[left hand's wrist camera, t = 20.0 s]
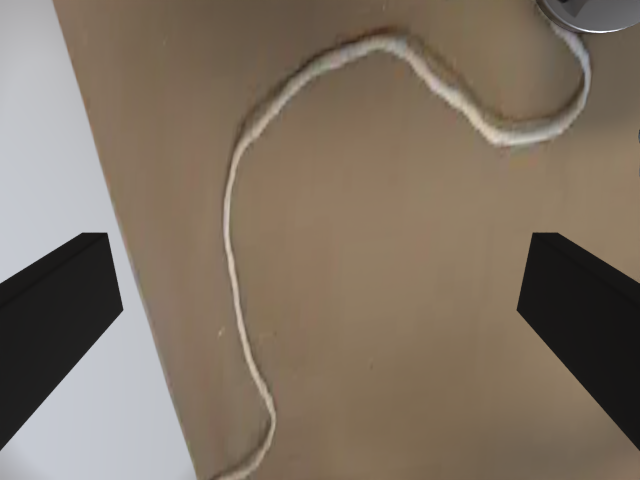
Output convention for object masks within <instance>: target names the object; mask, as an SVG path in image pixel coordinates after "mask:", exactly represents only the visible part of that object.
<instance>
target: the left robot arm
mask: <svg viewBox="0 0 640 480" xmlns="http://www.w3.org/2000/svg"><path fill="white" fill-rule="evenodd" d="M536 1H537V3H538V5H539V6H540V8H541V9H542V11H543V12H544V13H545V14H546V15H547V16H548V17H549V18H550V19H551V20H552V21H553V22H555V23H556V24H557V25H559V26H561V27H562V28H565V29H567V30H569V31H573V32H576V33H582V34H601V33H607V32H612V31H617V30H621V29H625V28H627V27H630V26H633V25H635V24H637V23H639V22H640V0H536ZM639 142H640V130H639ZM639 175H640V170H639ZM122 311H123V306H122V301H121V296H120V291H119V287H118V282H117V277H116V272H115V268H114V263H113V258H112V253H111V248H110V243H109V239H108V234H107V233H81V234H80V235H78V236H76V237H75V238H73V239H71V240H70V241H68V242H67V243H65V244H63V245H62V246H60V247H58V248H57V249H55V250H54V251H52V252H50V253H49V254H47V255H46V256H44V257H42V258H41V259H39V260H38V261H36V262H34V263H33V264H31V265H29V266H28V267H26V268H25V269H23V270H21V271H20V272H18V273H16V274H15V275H13V276H12V277H10V278H8V279H7V280H5V281H4V282H2V283H0V451H1V449H2V448H3V447H4V446H5V445H6V444H7V443H8V441H9V440H10V439H11V438H12V437H13V436H14V435H15V433H16V432H17V431H18V430H19V429H20V428H21V427H22V425H23V424H24V423H25V422H26V421H27V420H28V419H29V417H30V416H31V415H32V414H33V413H34V412H35V411H36V409H37V408H38V407H39V406H40V405H41V404H42V403H43V401H44V400H45V399H46V398H47V397H48V396H49V395H50V393H51V392H52V391H53V390H54V389H55V388H56V387H57V385H58V384H59V383H60V382H61V381H62V380H63V379H64V377H65V376H66V375H67V374H68V373H69V372H70V371H71V369H72V368H73V367H74V366H75V365H76V364H77V363H78V361H79V360H80V359H81V358H82V357H83V356H84V355H85V353H86V352H87V351H88V350H89V349H90V348H91V347H92V345H93V344H94V343H95V342H96V341H97V340H98V339H99V337H100V336H101V335H102V334H103V333H104V332H105V331H106V329H107V328H108V327H109V326H110V325H111V324H112V323H113V321H114V320H115V319H116V318H117V317H118V316H119V315H120V313H121V312H122ZM517 311H518V312H519V313H520V315H521V316H522V317H523V318H524V319H525V320H526V321H527V323H528V324H529V325H530V326H531V327H532V328H533V329H534V331H535V332H536V333H537V334H538V335H539V336H540V337H541V339H542V340H543V341H544V342H545V343H546V344H547V345H548V347H549V348H550V349H551V350H552V351H553V352H554V353H555V355H556V356H557V357H558V358H559V359H560V360H561V361H562V363H563V364H564V365H565V366H566V367H567V368H568V369H569V371H570V372H571V373H572V374H573V375H574V376H575V377H576V379H577V380H578V381H579V382H580V383H581V384H582V385H583V387H584V388H585V389H586V390H587V391H588V392H589V393H590V395H591V396H592V397H593V398H594V399H595V400H596V401H597V403H598V404H599V405H600V406H601V407H602V408H603V409H604V411H605V412H606V413H607V414H608V415H609V416H610V417H611V419H612V420H613V421H614V422H615V423H616V424H617V425H618V427H619V428H620V429H621V430H622V431H623V432H624V433H625V435H626V436H627V437H628V438H629V439H630V440H631V441H632V443H633V444H634V445H635V446H636V447H637V448H638V449H639V451H640V283H638V282H636V281H635V280H633V279H632V278H630V277H628V276H627V275H625V274H624V273H622V272H620V271H619V270H617V269H615V268H614V267H612V266H611V265H609V264H607V263H606V262H604V261H603V260H601V259H599V258H598V257H596V256H594V255H593V254H591V253H590V252H588V251H586V250H585V249H583V248H582V247H580V246H578V245H577V244H575V243H573V242H572V241H570V240H569V239H567V238H565V237H564V236H562V235H561V234H559V233H533V234H532V239H531V243H530V248H529V253H528V258H527V262H526V267H525V272H524V277H523V282H522V286H521V291H520V296H519V301H518V306H517Z"/></svg>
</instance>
